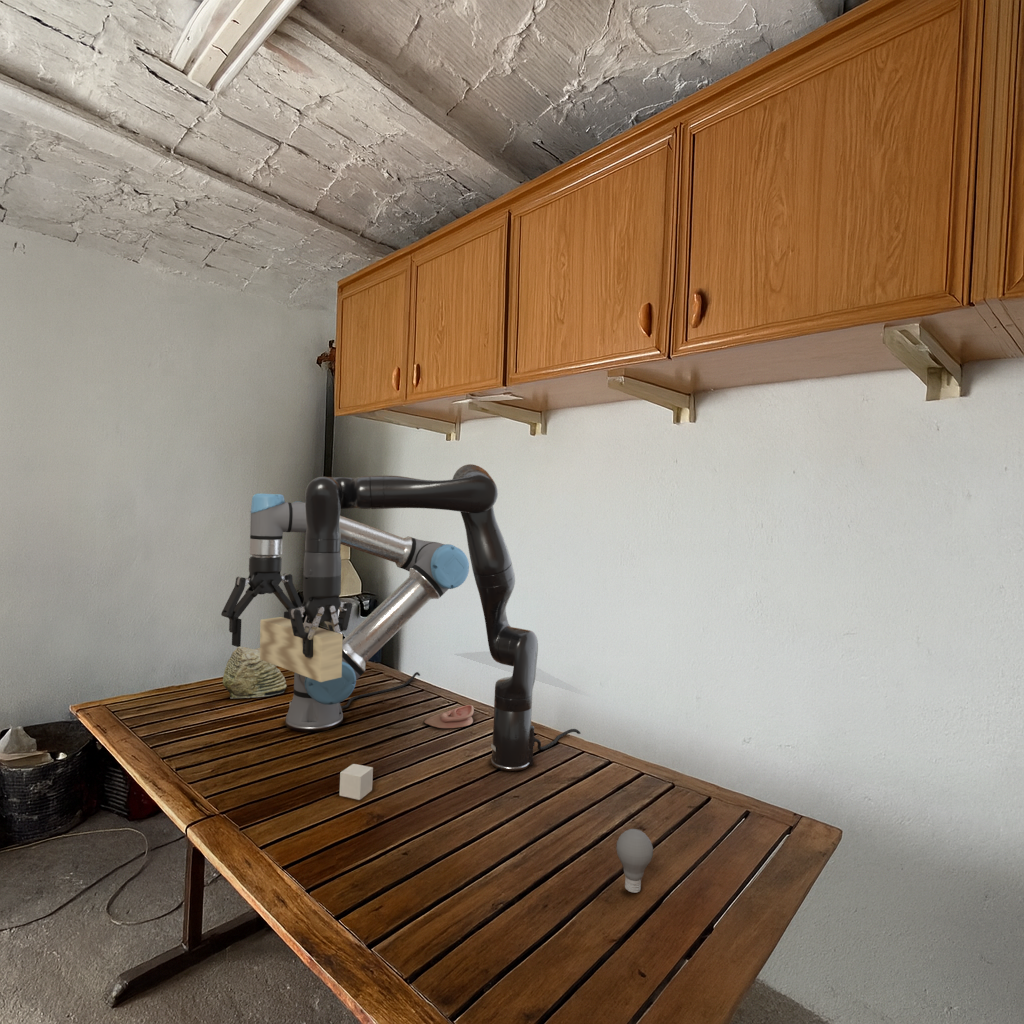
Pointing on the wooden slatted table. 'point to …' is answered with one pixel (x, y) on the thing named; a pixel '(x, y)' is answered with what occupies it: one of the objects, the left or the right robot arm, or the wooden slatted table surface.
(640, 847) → the light bulb
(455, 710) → the anatomical model
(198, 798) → the wooden slatted table surface
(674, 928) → the wooden slatted table surface
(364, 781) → the white cube
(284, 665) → the ash bar
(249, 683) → the fossil
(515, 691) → the right robot arm
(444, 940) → the wooden slatted table surface
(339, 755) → the wooden slatted table surface
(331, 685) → the left robot arm
